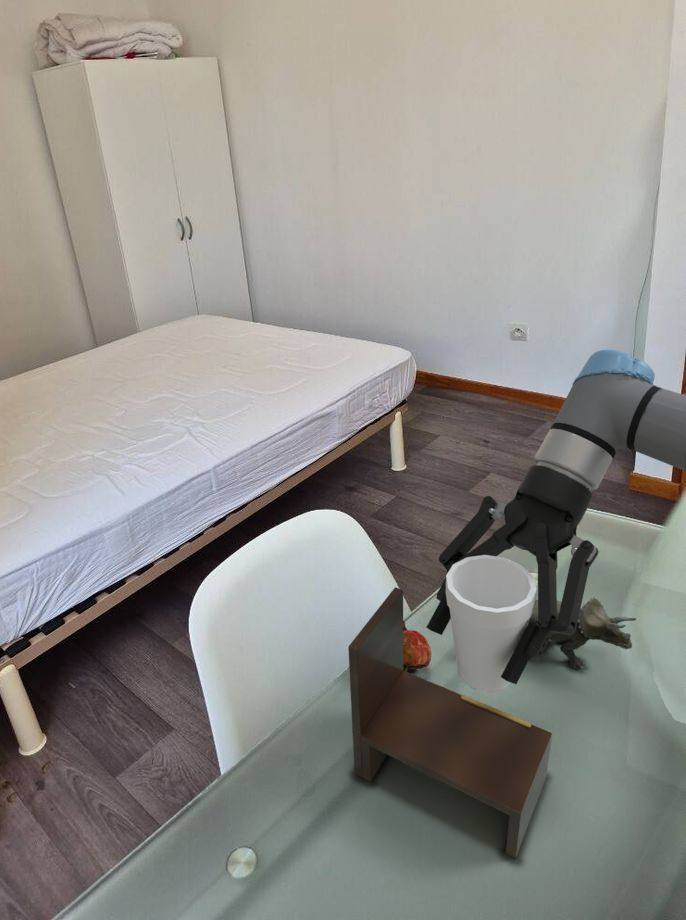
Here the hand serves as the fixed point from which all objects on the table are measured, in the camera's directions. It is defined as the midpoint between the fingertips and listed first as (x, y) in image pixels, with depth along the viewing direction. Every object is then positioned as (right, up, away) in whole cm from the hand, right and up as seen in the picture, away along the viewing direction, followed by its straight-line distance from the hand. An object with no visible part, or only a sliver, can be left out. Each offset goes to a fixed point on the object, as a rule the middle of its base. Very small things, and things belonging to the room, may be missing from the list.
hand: (469, 654), depth 76 cm
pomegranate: (-3, -12, +28) cm, 31 cm away
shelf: (+1, -20, +12) cm, 23 cm away
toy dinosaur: (+19, -10, +30) cm, 37 cm away
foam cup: (+3, -3, +4) cm, 6 cm away
